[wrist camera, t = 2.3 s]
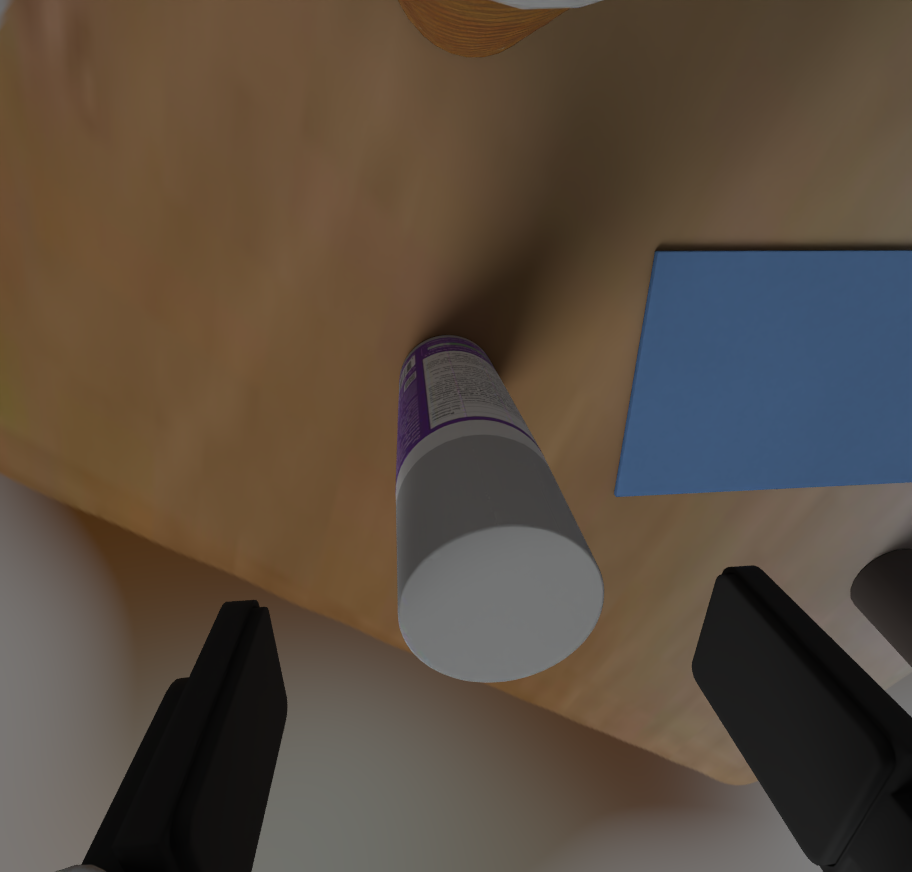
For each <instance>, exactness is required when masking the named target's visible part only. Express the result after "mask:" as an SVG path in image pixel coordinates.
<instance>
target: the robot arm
mask: <svg viewBox="0 0 912 872" xmlns="http://www.w3.org/2000/svg"><path fill="white" fill-rule="evenodd" d="M692 672H693V675H694V678H695V680H696V682H697V684H698V686H699V687H700V689H701V690H702V692H703V693H704V695H705V697H706V698H707V700H708V701H709V703H710V705H711V706H712V708H713V709H714V711H715V712H716V714H717V716H718V717H719V719H720V720H721V722H722V724H723V725H724V727H725V728H726V730H727V731H728V733H729V735H730V736H731V738H732V739H733V741H734V743H735V744H736V746H737V747H738V749H739V751H740V752H741V754H742V755H743V757H744V758H745V760H746V762H747V763H748V765H749V766H750V768H751V770H752V771H753V773H754V774H755V776H756V777H757V779H758V781H759V782H760V784H761V785H762V787H763V789H764V790H765V792H766V793H767V795H768V796H769V798H770V799H771V801H772V803H773V804H774V806H775V808H776V809H777V811H778V812H779V814H780V815H781V817H782V819H783V820H784V822H785V823H786V825H787V826H788V828H789V830H790V831H791V833H792V835H793V836H794V837H795V839H796V841H797V842H798V844H799V846H800V847H801V849H802V850H803V852H804V853H805V855H806V856H807V857H808V859H810V861H811V862H812V863H814V864H816V865H819V866H820V867H821V869H822V870H823V872H912V717H911V716H910V715H909V714H907V712H906V711H905V710H904V709H903V708H901V706H899V705H898V703H897V702H895V701H894V700H893V699H892V698H891V697H890V696H889V695H888V694H887V693H886V692H885V691H884V690H883V689H882V688H881V687H880V686H879V685H878V684H877V683H876V682H875V681H874V680H873V679H872V678H871V677H870V676H869V675H868V674H867V673H866V672H865V671H864V670H863V669H862V668H861V667H860V666H859V665H858V664H857V663H856V662H855V661H854V660H853V659H852V658H851V657H850V656H849V655H848V654H847V653H846V652H845V651H844V650H843V649H842V648H841V647H840V646H839V645H838V644H837V643H836V642H835V641H834V640H833V639H832V638H831V637H830V636H829V635H828V634H827V633H826V632H825V631H823V630H822V629H821V628H820V627H819V626H818V625H817V624H816V623H815V622H814V621H813V620H812V619H811V618H810V617H809V616H808V615H807V614H806V613H805V612H804V611H803V610H802V609H801V608H800V607H799V606H798V605H797V604H796V603H795V602H794V601H793V600H792V599H791V598H790V597H789V596H788V595H787V594H786V593H785V592H784V591H783V590H782V589H781V588H780V587H779V586H778V585H777V584H776V583H775V582H774V581H773V580H772V579H771V578H770V577H769V576H768V575H767V574H766V573H765V572H764V571H763V570H761V569H760V568H759V567H757V566H739V567H728V568H726V569H724V571H723V573H722V575H719V576H718V577H717V579H716V581H715V585H714V588H713V592H712V595H711V599H710V602H709V606H708V609H707V613H706V616H705V620H704V623H703V627H702V630H701V633H700V637H699V640H698V644H697V647H696V651H695V654H694V658H693V661H692ZM286 717H287V696H286V692H285V687H284V682H283V677H282V672H281V667H280V663H279V658H278V653H277V648H276V643H275V639H274V634H273V629H272V624H271V619H270V614H269V610H268V608H267V607H259V604H258V602H257V600H246V601H232V602H225V603H224V604H223V605H222V607H221V609H220V611H219V614H218V616H217V618H216V620H215V622H214V624H213V627H212V629H211V631H210V633H209V635H208V637H207V640H206V642H205V644H204V646H203V648H202V650H201V653H200V655H199V657H198V659H197V661H196V664H195V666H194V668H193V670H192V672H191V674H190V677H188V678H180V679H176V680H175V681H174V682H173V683H172V684H171V685H170V687H169V689H168V690H167V692H166V694H165V696H164V698H163V700H162V702H161V704H160V706H159V708H158V710H157V712H156V714H155V716H154V718H153V720H152V722H151V724H150V726H149V728H148V730H147V732H146V734H145V736H144V738H143V741H142V742H141V744H140V747H139V748H138V750H137V753H136V755H135V757H134V759H133V761H132V763H131V765H130V767H129V769H128V771H127V773H126V775H125V777H124V779H123V781H122V783H121V785H120V787H119V789H118V791H117V794H116V795H115V797H114V799H113V802H112V803H111V805H110V807H109V810H108V812H107V814H106V816H105V818H104V820H103V822H102V824H101V826H100V828H99V830H98V832H97V834H96V836H95V838H94V840H93V842H92V844H91V846H90V848H89V850H88V852H87V854H86V856H85V858H84V860H83V862H82V864H81V865H74V866H71V867H68V868H65V869H62V870H59V871H56V872H251V871H252V867H253V862H254V858H255V853H256V849H257V845H258V840H259V835H260V831H261V827H262V823H263V818H264V814H265V809H266V805H267V801H268V796H269V792H270V788H271V783H272V779H273V774H274V770H275V765H276V761H277V757H278V752H279V748H280V744H281V739H282V734H283V731H284V726H285V722H286Z"/></svg>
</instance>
